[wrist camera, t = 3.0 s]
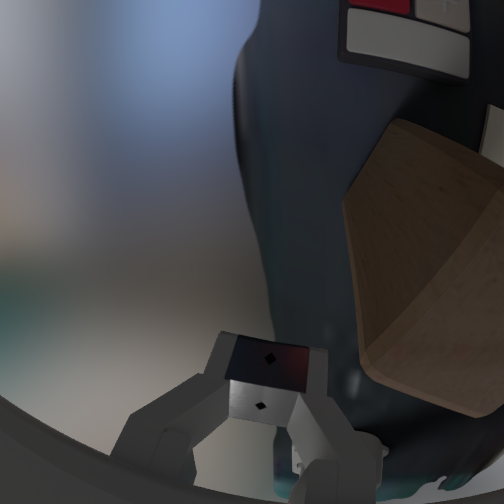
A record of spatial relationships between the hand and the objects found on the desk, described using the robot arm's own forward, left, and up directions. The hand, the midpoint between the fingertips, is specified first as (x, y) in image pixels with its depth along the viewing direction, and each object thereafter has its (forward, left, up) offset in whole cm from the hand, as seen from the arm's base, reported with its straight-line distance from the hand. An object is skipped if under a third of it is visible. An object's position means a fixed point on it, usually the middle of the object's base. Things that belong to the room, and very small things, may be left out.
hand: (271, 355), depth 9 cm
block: (0, -10, -22) cm, 24 cm away
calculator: (+17, -7, -23) cm, 29 cm away
